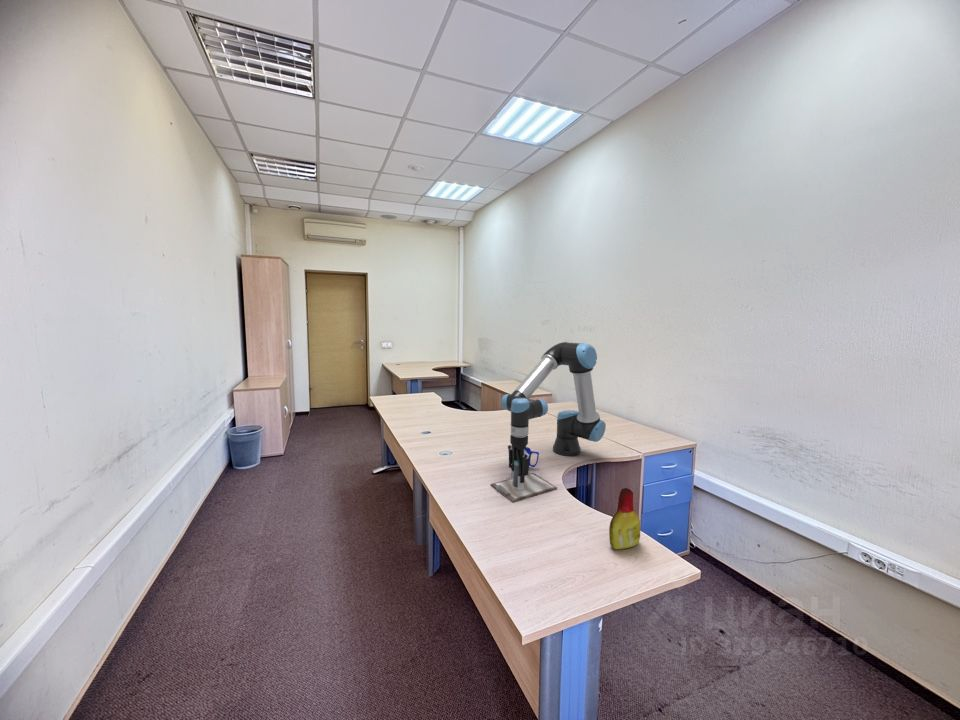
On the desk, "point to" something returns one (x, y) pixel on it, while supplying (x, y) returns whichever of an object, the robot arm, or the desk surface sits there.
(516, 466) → the marker
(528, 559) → the desk surface
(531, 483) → the clipboard
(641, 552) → the desk surface
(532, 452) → the mug
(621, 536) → the bottle
